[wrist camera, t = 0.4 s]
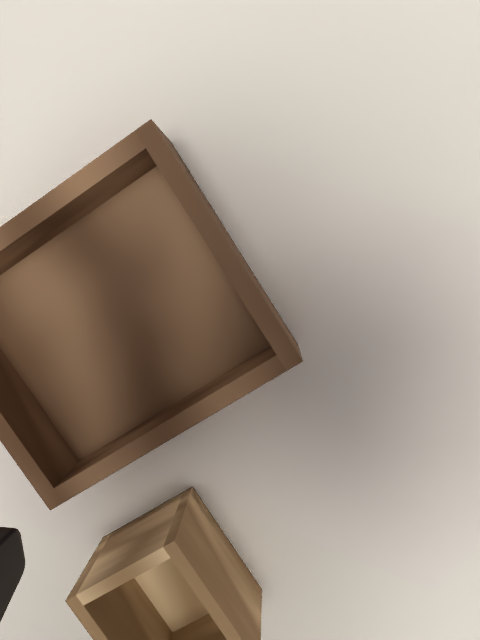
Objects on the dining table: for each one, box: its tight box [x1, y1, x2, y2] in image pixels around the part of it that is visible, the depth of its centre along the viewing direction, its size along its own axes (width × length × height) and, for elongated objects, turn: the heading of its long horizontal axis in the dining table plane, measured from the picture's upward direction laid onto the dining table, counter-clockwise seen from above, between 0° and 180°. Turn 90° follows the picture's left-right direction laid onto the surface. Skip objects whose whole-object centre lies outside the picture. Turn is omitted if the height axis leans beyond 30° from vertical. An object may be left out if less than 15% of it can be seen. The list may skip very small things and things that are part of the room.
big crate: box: [0, 120, 303, 510], centre depth 21 cm, size 14×12×4 cm
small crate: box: [66, 487, 262, 640], centre depth 22 cm, size 6×7×4 cm
